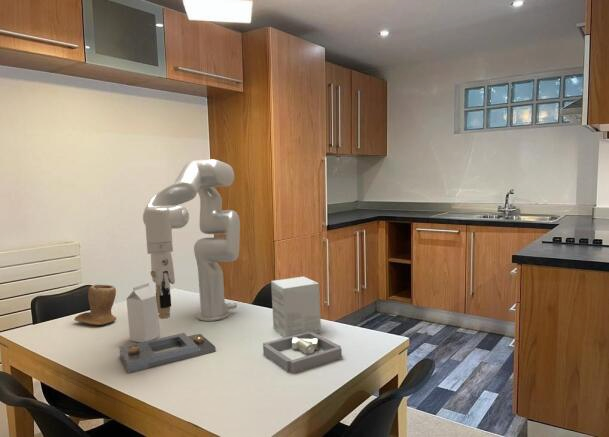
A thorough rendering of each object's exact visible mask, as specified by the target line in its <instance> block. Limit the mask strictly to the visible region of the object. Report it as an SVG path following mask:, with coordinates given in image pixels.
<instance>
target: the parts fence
mask: <svg viewBox="0 0 609 437" xmlns="http://www.w3.org/2000/svg"><path fill="white" fill-rule="evenodd" d="M293 338H309V339H313V338H318V339H319V349H321V351H319V352H315V353H313V354H310V355H304V356H302V357H299V358H295V359H291V358H290V357H288V356H286V355H285V354H284V353H282V352H280V351H282V350H283V351H284V350H286V349H290V348H291V349H292V339H293ZM262 349H263V350H262V351H263V356H265V357H266V358H267V359H269V360H270V361H272V362H273V363H274V364H275V365H277V366H279V367H280V368H282V370H284V371H286V372H287V373H289V372H290V373H291V374H295V373H299V372H302V371H304V370H308V369H311V368H312V369H313V368H314V367H318V366H322V365H324V364H328V363H331V362H335V361H338V360H341V359H343V356H342V348H341V345H339V344H337V343H336V342H333V341H331V340H330V339H328V338H325V337H323V336H322V335H319V333H314V332H312V333H311V332H305V333H301V334H297V335H293V336H289V337H285V338H284V337H282V338H279V339H278V338H277V339H275V340H271V341H266V342H263V343H262ZM322 350H323V351H322Z"/></svg>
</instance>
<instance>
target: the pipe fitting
mask: <svg viewBox="0 0 609 437" xmlns="http://www.w3.org/2000/svg"><path fill="white" fill-rule="evenodd" d="M291 349H292V350H300V351H301V352H303V353H304V354H305V355H306V356H308V355H312V354H314V352H315V351H319V349H320V348H319V339H318V338H313V339H309V338H293V339H292V347H291Z"/></svg>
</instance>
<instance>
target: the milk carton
mask: <svg viewBox="0 0 609 437" xmlns="http://www.w3.org/2000/svg"><path fill="white" fill-rule="evenodd" d="M126 307H127V321H128V322H127V323H128V331H129V332H128V333H129V341H130V342H137V343H141V342H145V341H150V340H154V339H158V338H160V337H161V330H160V328H161V327H160V318H159V313H158V308H157V301H156V291H154V290H153V289H152V288H151V286H150V283H149V282H147V283H144V284H141V285H138V286H135V287H133V288H132V292H131V293H130V294H129V295H128V297H126Z"/></svg>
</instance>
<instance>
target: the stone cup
mask: <svg viewBox="0 0 609 437" xmlns="http://www.w3.org/2000/svg"><path fill="white" fill-rule="evenodd" d="M87 292H88V293H87V295H88V296H87V298H88V299H87V300H88V305H89V309H90V311H88V312H83V313H80V314H78V315H77V316H75V317H74V319H73V320H74V321H76V322H79V323H83V324H84V323H85V324H88V325H95V326H104V325H107V324H110V323H113V322H115V321H117V317H116V316H115V315H113V314H112V308H113V305H114V303H115V299H116V296H117V289H116V287H115V286H114V285H110V284H92V285H90V287H89V288H88V291H87Z"/></svg>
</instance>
